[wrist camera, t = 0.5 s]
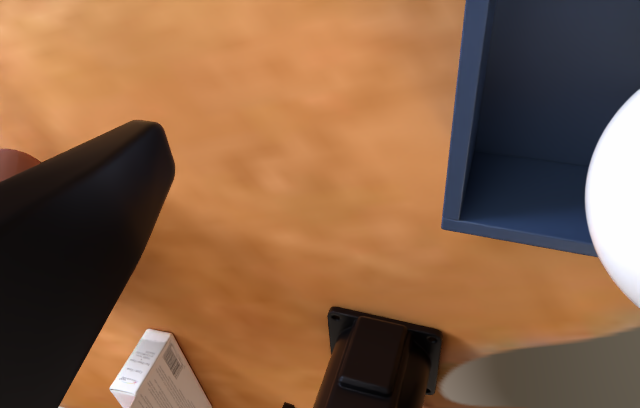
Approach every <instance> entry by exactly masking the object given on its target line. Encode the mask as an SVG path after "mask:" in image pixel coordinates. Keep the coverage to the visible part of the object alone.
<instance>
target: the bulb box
mask: <svg viewBox="0 0 640 408" xmlns="http://www.w3.org/2000/svg"><path fill="white" fill-rule="evenodd" d="M639 89H640V0H466V4H465V13H464V22H463V31H462V40H461V49H460V59H459V68H458V77H457V86H456V95H455V104H454V114H453V123H452V132H451V141H450V150H449V159H448V169H447V178H446V187H445V196H444V205H443V214H442V216H443V217H442V224H441V228H442V229H443V230H449V231H454V232H460V233H465V234H471V235H477V236H482V237H488V238H493V239H499V240H505V241H510V242H516V243H521V244H527V245H532V246H538V247H544V248H549V249H555V250H560V251H566V252H572V253H577V254H583V255H588V256H594V257H598V255H597V253H596V250H595V248H594V246H593V243H592V240H591V237H590V233H589V229H588V225H587V220H586V212H585V184H586V177H587V172H588V168H589V164H590V161H591V158H592V155H593V152H594V149H595V147H596V145H597V143H598V140H599V138H600V137H601V135H602V133H603V131H604V129H605V128H606V126H607V125H608V123H609V122H610V120H611V119H612V117H613V116H614V115H615V114H616V112H617V111H618V110H619V109H620V107H621V106H622V105H623V104H624V103H625V102H626V101H627V100H628V99H629V98H630V97H631V96H632V95H633V94H634V93H635V92H636V91H637V90H639Z"/></svg>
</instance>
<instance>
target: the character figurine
mask: <svg viewBox="0 0 640 408" xmlns="http://www.w3.org/2000/svg"><path fill="white" fill-rule="evenodd" d="M40 163H41V162H40V161H38V160H37V159H36V158H34V157H32V156H30V155H28V154H26V153H24V152H20V151H17V150H12V149H0V182H1V181H3V180H6V179H8V178H10V177H12V176H14V175H16V174H18V173H21V172H23V171H25V170H27V169H29V168H31V167H33V166H36V165H38V164H40Z"/></svg>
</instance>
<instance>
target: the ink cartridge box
mask: <svg viewBox="0 0 640 408" xmlns="http://www.w3.org/2000/svg"><path fill="white" fill-rule="evenodd" d="M110 391H111V392H112V393H113V395H114V396H115V397H116V399H117V400H118V401H119V403H120V404H121V406H122V407H123V408H212V406H211V404H210V402H209V400H208V399H207V397H206V395H205V393H204V391H203V389H202V388H201V386H200V384H199V382H198V380H197V378H196V377H195V375H194V373H193V371H192V369H191V367H190V366H189V364H188V362H187V360H186V358H185V356H184V354H183V353H182V351H181V349H180V347H179V345H178V343H177V341H176V340H175V338H174V336H173V334H172V333H168V332H163V331H158V330H153V329H147V330H146V331H145V333H144V335H143V336H142V338H141V339H140V341H139V343H138V344H137V346H136V347H135V349H134V350H133V352H132V354H131V355H130V357H129V358H128V360H127V361H126V363H125V365H124V366H123V368H122V369H121V371H120V373H119V374H118V376H117V377H116V379H115V381H114V382H113V384H112V385H111V387H110Z"/></svg>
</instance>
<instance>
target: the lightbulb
mask: <svg viewBox="0 0 640 408" xmlns="http://www.w3.org/2000/svg"><path fill="white" fill-rule="evenodd" d="M585 212H586V220H587V225H588V229H589V233H590V237H591V240H592V243H593V246H594V248H595V250H596V253H597V255H598V257H599V259H600V261H601V263H602V265H603V266H604V268H605V270H606V271H607V273H608V274H609V276H610V277H611V279H612V280H613V281H614V283H615V284H616V285H617V286H618V288H619V289H620V290H621V291H622V292H623V293H624V294H625V295H626V296H627V297H628V298H629V299H630V300H631V301H632V302H633V303H634V304H635V305H636V306H637V307H638V308H640V89H639V90H637V91H636V92H635V93H634V94H633V95H632V96H631V97H630V98H629V99H628V100H627V101H626V102H625V103H624V104H623V105H622V106H621V107H620V109H619V110H618V111H617V112H616V114H615V115H614V116H613V117H612V119H611V120H610V122H609V123H608V125H607V126H606V128H605V129H604V131H603V133H602V135H601V137H600V138H599V140H598V143H597V145H596V147H595V149H594V152H593V155H592V158H591V161H590V164H589V168H588V172H587V177H586V184H585Z"/></svg>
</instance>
